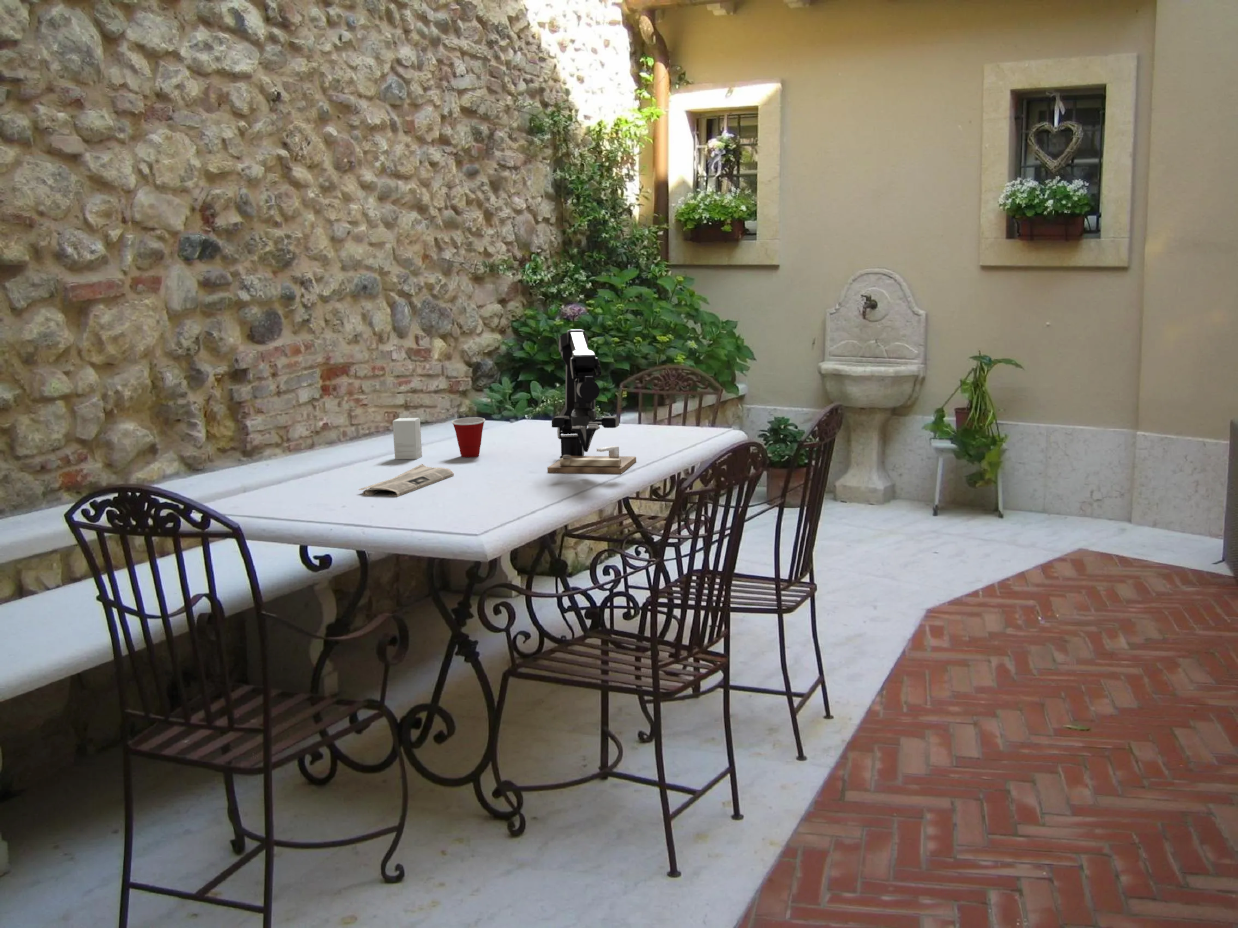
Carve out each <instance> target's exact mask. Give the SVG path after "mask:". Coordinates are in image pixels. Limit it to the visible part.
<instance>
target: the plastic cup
mask: <svg viewBox="0 0 1238 928" xmlns="http://www.w3.org/2000/svg"><path fill="white" fill-rule="evenodd" d="M485 422H486V419H485V418H483V417H476V416H475V417H473V416H471V417H470V416H469V417H461V418H456V419H454V420H451V424H452V425H453V428H454V431H455V435H456V439H457V443H458V444H457V445H458V447H459V453H460V456H461V458H476V457H479V456H480V451H481V446H482V438H483V430H484V425H485Z"/></svg>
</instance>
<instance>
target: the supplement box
mask: <svg viewBox="0 0 1238 928" xmlns="http://www.w3.org/2000/svg"><path fill="white" fill-rule="evenodd" d="M392 431H393V433H392V434H393V447H394V460H417V459H419V458H421V457H423V450H422V449H423V448H422V429H421V419H420V417H404V418H403V417H399V418H397V419H396V418H395V419H394V420H392Z"/></svg>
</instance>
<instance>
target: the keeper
mask: <svg viewBox="0 0 1238 928" xmlns="http://www.w3.org/2000/svg"><path fill="white" fill-rule="evenodd" d="M596 452H599V453H603V452H608V456H609V458H619V456H620V446H619V445H610V446H604V447H600V448H599V447H598V448H596Z"/></svg>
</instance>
